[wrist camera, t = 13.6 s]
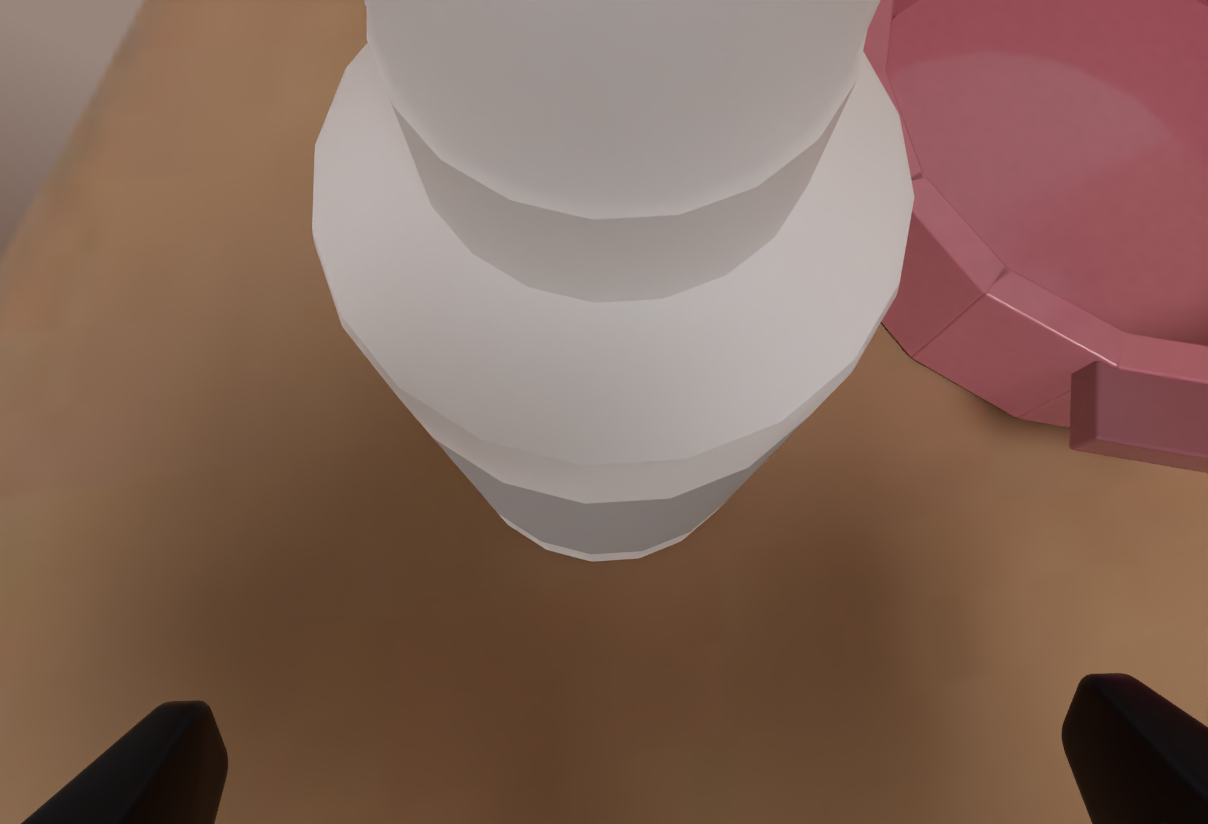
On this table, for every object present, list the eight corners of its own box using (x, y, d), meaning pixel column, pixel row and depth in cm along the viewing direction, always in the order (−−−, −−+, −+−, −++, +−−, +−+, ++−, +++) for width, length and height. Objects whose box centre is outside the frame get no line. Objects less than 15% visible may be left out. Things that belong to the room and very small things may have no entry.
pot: (1387, 543, 19) (1589, 521, 15) (771, 436, 20) (814, 389, 16) (1342, -55, 24) (1487, -190, 20) (843, -128, 24) (889, -272, 20)
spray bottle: (553, 619, 18) (-242, 419, 1) (416, 374, 20) (-840, -1384, 3) (800, 469, 19) (2581, -962, 2) (651, 246, 21) (912, -1677, 3)
